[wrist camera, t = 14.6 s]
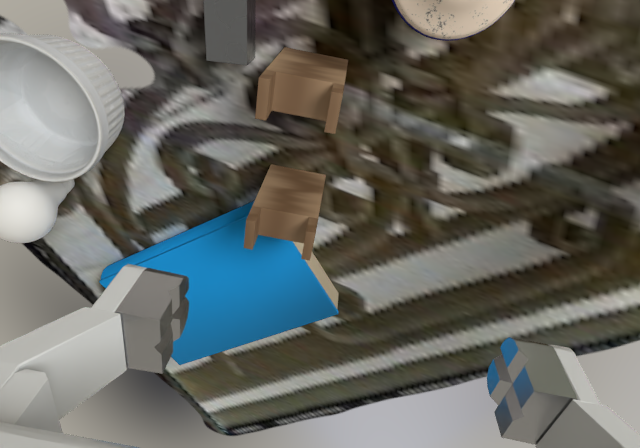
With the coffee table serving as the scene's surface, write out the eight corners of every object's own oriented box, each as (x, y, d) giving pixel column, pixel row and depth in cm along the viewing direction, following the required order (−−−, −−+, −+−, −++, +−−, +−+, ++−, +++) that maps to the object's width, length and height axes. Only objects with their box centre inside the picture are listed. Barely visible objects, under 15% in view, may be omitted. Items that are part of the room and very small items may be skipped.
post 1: (348, 59, 40) (342, 93, 30) (342, 91, 41) (335, 133, 32) (284, 47, 40) (258, 77, 30) (280, 80, 41) (255, 118, 32)
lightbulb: (59, 141, 47) (-16, 188, 38) (104, 182, 49) (44, 235, 40) (30, 172, 49) (-47, 222, 40) (75, 209, 52) (11, 265, 42)
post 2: (325, 174, 46) (315, 233, 37) (321, 198, 48) (309, 260, 38) (270, 164, 46) (246, 219, 37) (268, 188, 48) (243, 247, 38)
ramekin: (-20, 38, 42) (-82, 52, 36) (100, 9, 40) (54, 19, 34) (51, 162, 49) (8, 191, 43) (156, 144, 46) (126, 171, 40)
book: (340, 313, 52) (180, 368, 60) (341, 290, 56) (190, 344, 64) (265, 202, 45) (93, 281, 52) (272, 183, 48) (110, 260, 56)
